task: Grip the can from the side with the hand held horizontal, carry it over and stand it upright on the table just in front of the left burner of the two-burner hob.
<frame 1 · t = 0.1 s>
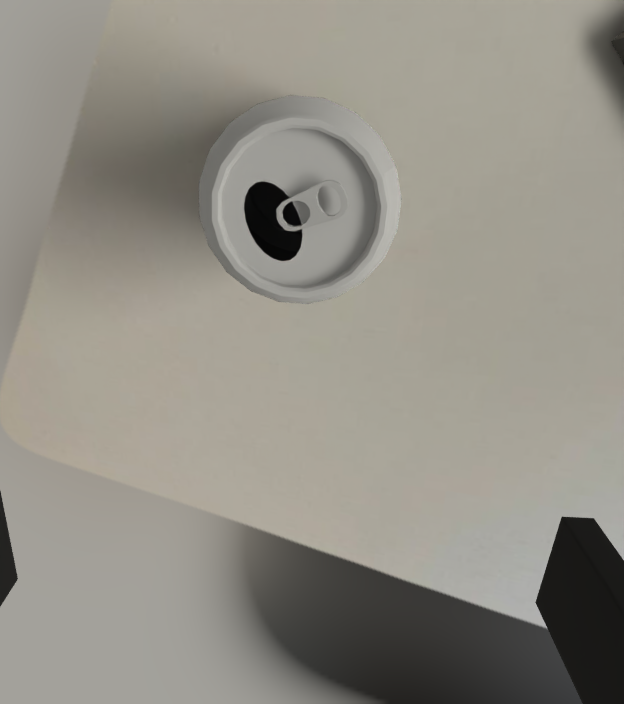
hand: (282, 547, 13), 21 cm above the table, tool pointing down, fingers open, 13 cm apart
can: (302, 180, 30), on the table
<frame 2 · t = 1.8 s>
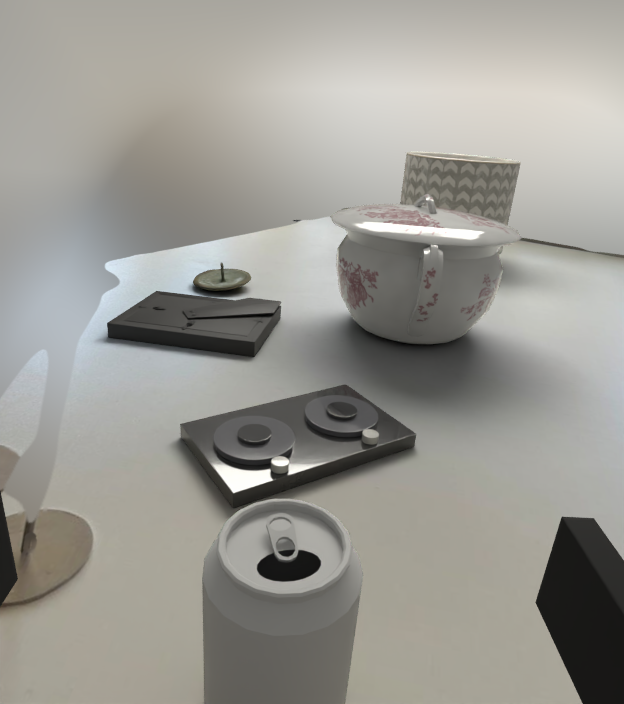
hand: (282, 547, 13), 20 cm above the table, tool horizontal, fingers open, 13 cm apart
chamber pot: (406, 330, 86), on the table
planter: (444, 261, 132), on the table
hob: (298, 441, 54), on the table
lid: (222, 288, 100), on the table
picture frame: (200, 328, 81), on the table
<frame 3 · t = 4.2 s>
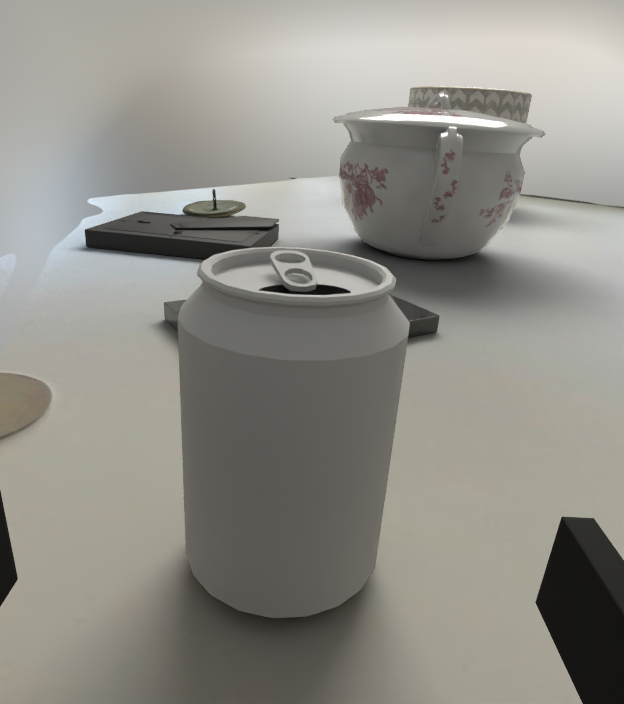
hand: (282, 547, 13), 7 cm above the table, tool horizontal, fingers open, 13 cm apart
chamber pot: (416, 250, 78), on the table
planter: (451, 207, 124), on the table
can: (281, 559, 22), on the table
hob: (303, 325, 46), on the table
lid: (214, 218, 92), on the table
picture frame: (190, 244, 73), on the table
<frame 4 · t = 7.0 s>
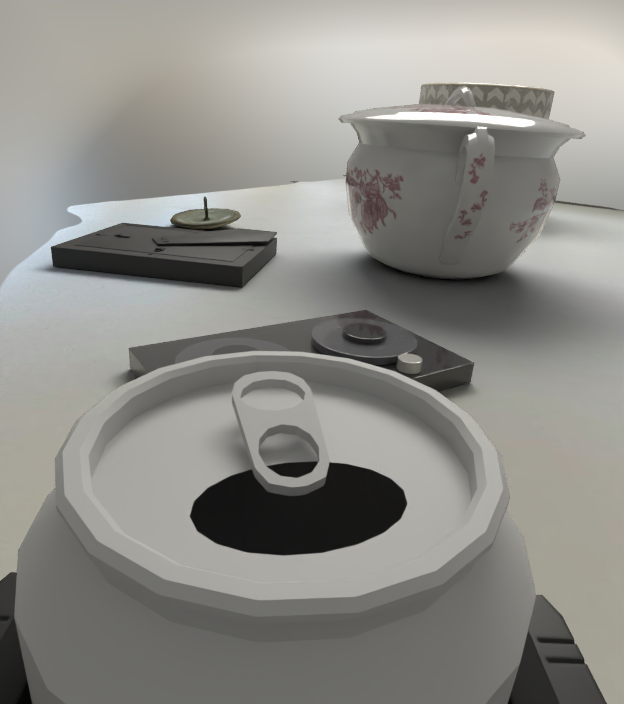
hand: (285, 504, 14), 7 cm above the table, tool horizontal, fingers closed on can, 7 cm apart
chamber pot: (433, 267, 69), on the table
planter: (464, 214, 115), on the table
hob: (303, 375, 37), on the table
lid: (206, 229, 83), on the table
picture frame: (175, 261, 64), on the table
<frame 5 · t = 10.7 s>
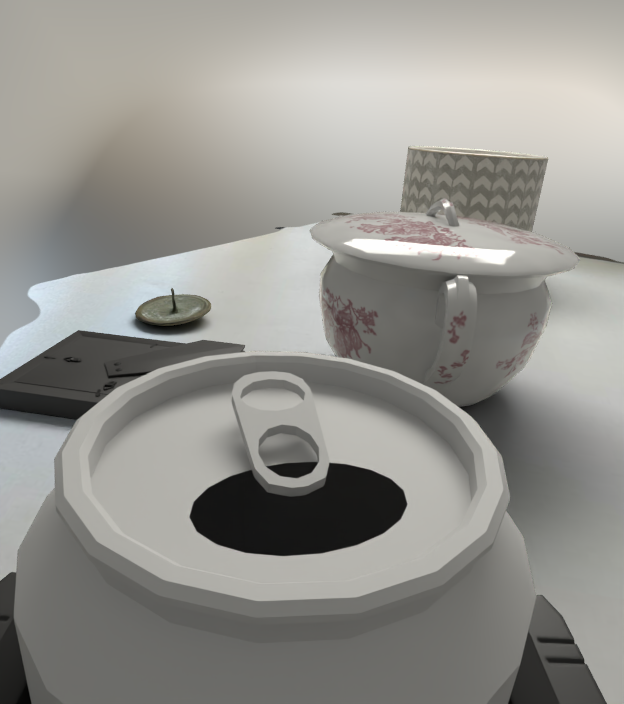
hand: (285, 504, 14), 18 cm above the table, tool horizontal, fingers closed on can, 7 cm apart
chamber pot: (415, 381, 64), on the table
planter: (454, 277, 110), on the table
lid: (174, 320, 77), on the table
picture frame: (130, 386, 58), on the table
when the fingers open (7 cm above the table, at t = 14.4 s): can stays where it is, on the table.
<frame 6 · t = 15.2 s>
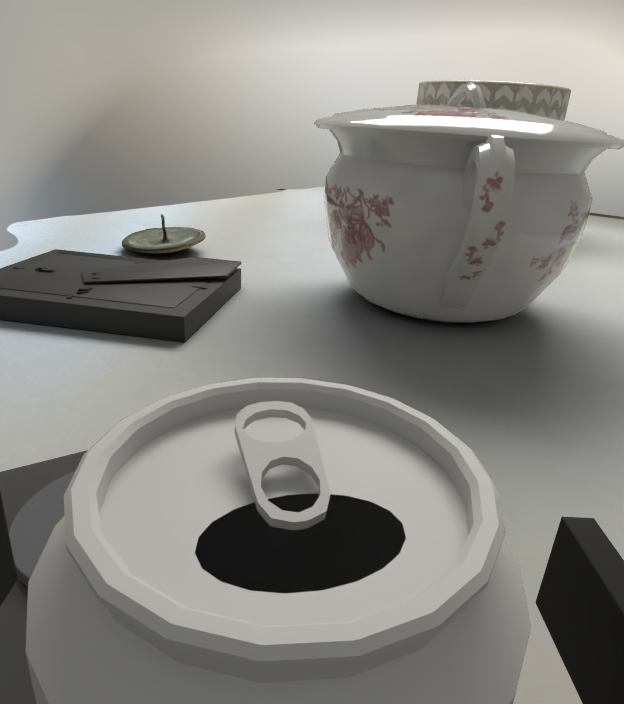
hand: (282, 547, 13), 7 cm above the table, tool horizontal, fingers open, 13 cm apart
chamber pot: (432, 304, 57), on the table
planter: (468, 228, 103), on the table
hob: (235, 515, 24), on the table
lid: (164, 252, 70), on the table
picture frame: (110, 301, 51), on the table
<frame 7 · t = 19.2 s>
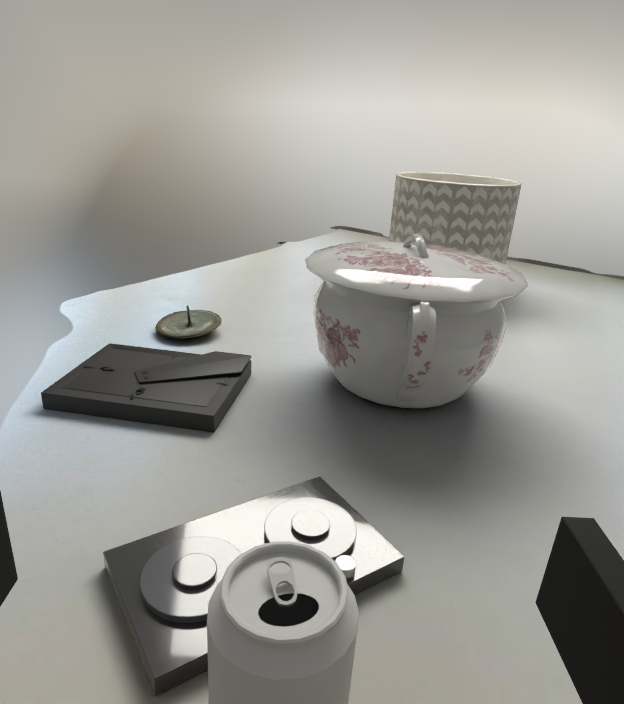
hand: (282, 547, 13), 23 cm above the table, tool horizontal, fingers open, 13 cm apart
chamber pot: (396, 386, 75), on the table
planter: (440, 290, 121), on the table
hob: (255, 569, 43), on the table
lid: (189, 333, 88), on the table
picture frame: (156, 391, 69), on the table
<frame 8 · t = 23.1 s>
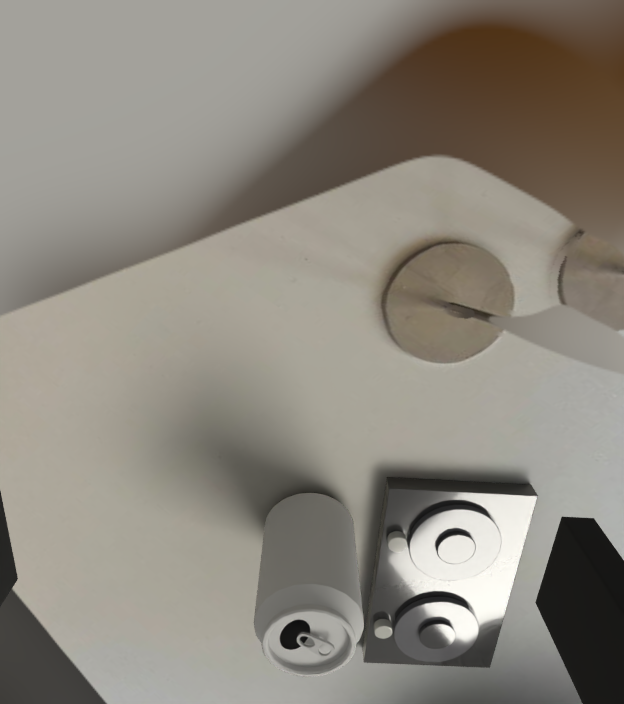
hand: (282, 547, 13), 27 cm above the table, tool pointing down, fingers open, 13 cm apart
can: (309, 520, 46), on the table
hob: (440, 572, 48), on the table
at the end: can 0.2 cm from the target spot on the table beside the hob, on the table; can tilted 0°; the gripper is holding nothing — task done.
